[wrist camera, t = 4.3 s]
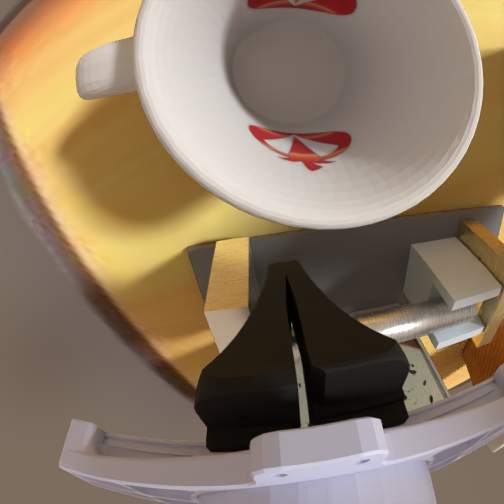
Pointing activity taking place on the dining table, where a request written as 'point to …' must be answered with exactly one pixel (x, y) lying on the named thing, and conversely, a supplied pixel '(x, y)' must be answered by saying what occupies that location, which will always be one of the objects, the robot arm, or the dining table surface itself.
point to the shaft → (243, 301)
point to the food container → (416, 384)
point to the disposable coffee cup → (486, 367)
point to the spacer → (497, 263)
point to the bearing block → (449, 283)
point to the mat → (352, 255)
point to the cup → (303, 100)
